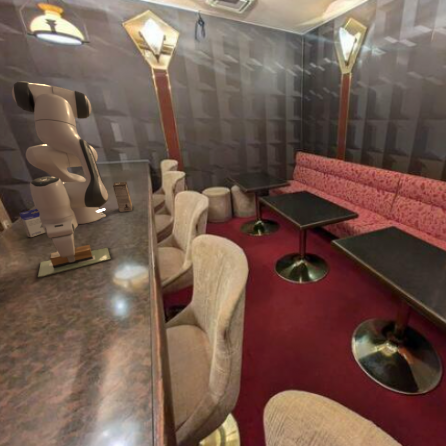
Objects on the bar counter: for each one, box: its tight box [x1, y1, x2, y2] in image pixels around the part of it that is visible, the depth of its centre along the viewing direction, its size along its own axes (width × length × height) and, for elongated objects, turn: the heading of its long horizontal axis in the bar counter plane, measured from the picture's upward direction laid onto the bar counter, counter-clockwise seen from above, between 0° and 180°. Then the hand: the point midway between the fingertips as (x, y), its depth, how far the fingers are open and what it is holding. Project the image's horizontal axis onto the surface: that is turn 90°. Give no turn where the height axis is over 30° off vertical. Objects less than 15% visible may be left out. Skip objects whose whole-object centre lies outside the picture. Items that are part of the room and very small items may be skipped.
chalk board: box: [37, 247, 112, 278], centre depth 93 cm, size 12×20×1 cm, turn 131°
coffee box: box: [112, 181, 133, 213], centre depth 147 cm, size 9×6×16 cm
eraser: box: [49, 244, 93, 268], centre depth 92 cm, size 5×11×4 cm, turn 131°
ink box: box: [18, 208, 47, 238], centre depth 114 cm, size 12×2×12 cm, turn 168°
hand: (72, 257), depth 92 cm, fingers closed on eraser, 5 cm apart
